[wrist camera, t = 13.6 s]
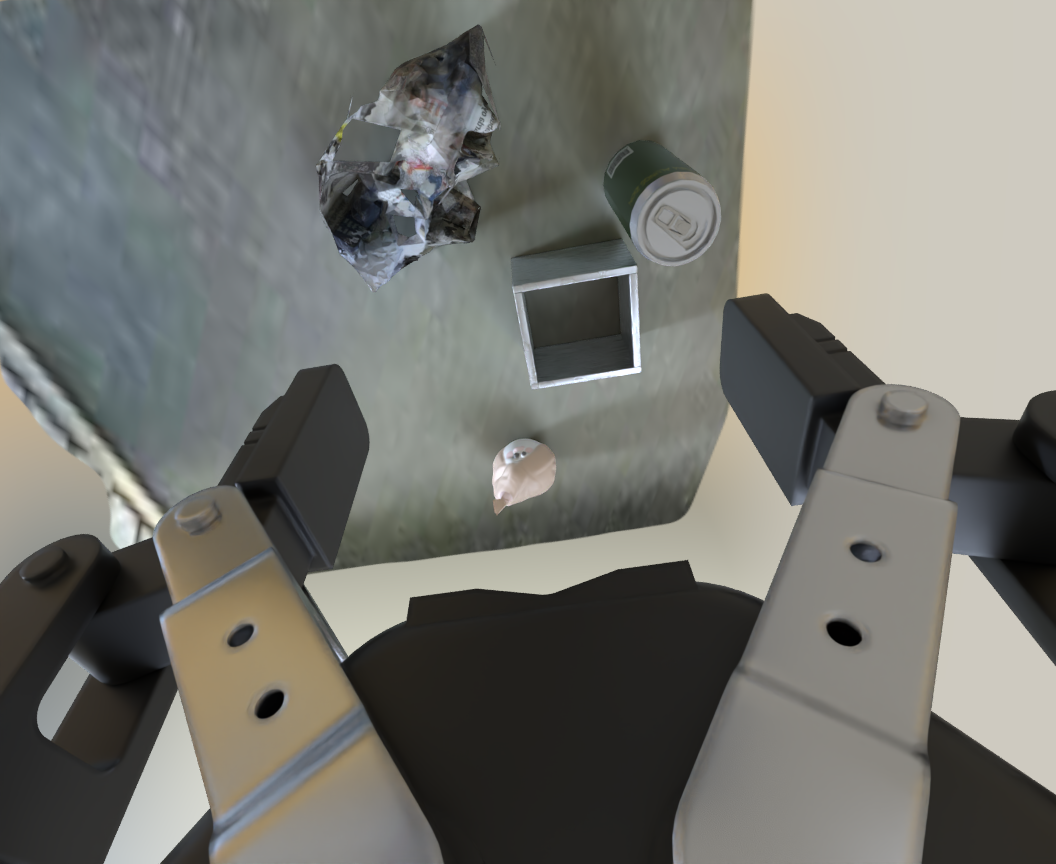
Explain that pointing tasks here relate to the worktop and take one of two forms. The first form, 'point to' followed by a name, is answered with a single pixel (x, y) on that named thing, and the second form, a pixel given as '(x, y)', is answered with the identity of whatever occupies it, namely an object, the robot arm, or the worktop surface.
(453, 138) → the foil
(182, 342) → the worktop surface
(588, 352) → the open square box
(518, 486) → the garlic bulb
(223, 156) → the worktop surface
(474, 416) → the worktop surface
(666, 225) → the beer can
